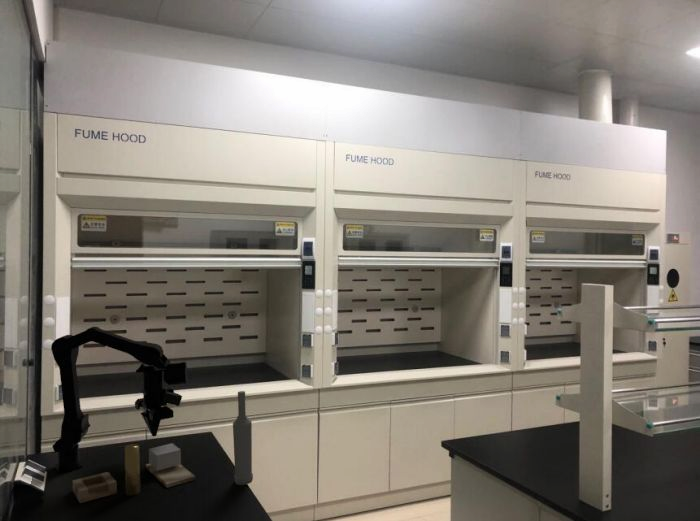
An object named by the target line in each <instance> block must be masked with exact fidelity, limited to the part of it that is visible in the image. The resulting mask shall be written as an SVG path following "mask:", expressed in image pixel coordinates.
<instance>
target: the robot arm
mask: <svg viewBox="0 0 700 521" xmlns="http://www.w3.org/2000/svg"><path fill="white" fill-rule="evenodd" d="M90 342H94V343H96V344H99V345H102V346H105V347H108V348H110V349H112V350H116V351H119V352H122V353H124V354H127V355H130V356H131V357H132V358H134V359H135V360H136V361H138V362H140V363H141V364H140V366H139V367H138V368H137V369H136V370H135V373H137V374H140V373H142V387H143V388H141V389H140V392H141V394H142V396H143V397H141V398H137V399H136V400H135V402H134V409H135V410H137V411H138V410H140V409H141V408H142V409H143V412H140V415H141V416H142V419H143V420H144V422H145V424H146V427H147V428H148V430H149V431H148V432H150V434H151V436H152V437H157V434H158V431H159V428H160V423H161V421H162V420H167V419H173V418H174V410H173V409H172V408H171V407H168V405H174V406H176V407H179V406H180V404H181V401H182V399H183V396H182V395H181V394H179V393H176V392H175V390H174V389H173V388H170V387H167V388H164V387H163V386H164V385H163V384H164V383H165V384H167V385H168V386H173V385H176V386H177V385H187V384H188V382H189V370H188V366H187V362H186V361H181V362H171V361H170V360H169V359H168V357H167V356H166V355H165V354H164V349H163V347H162V346H161V345H160V344H158V343H153V342H148V341H147V342H146V341H137V340H133V339H130V338H127V337H125V336H122V335H119V334H116V333H114V332H110V331H108V330H105V329H102V328H100V327H99V326H92V327H91V326H90V327H89V328H87V329H85V330H84V331H81V332H79V333H76V334H74V335H72V334H66V335H63V336H61V337H58V338H56V339H54V341H53V342H52V343H51V346H50V351H51V353H52V357H53V360H54V362H56V364H57V367H58V368H59V377H60V386H61V394H62V395H61V396H62V406H63V418H62V423H61V428H60V437H59V438H58V439H57V441H56V442H54V443H53V445H52V446H51V447H52V448H53V451H54V453H57V464H55V465H54V468H55V469H56V471H57V472H58V473H62V472H63V473H64V472H68V471H72V470H76V469H80V468H83V464H82V463H81V461H80V448H79V447H80V446H79V443H80V442H82V439H83V438H84V437H85V436H86V434H87V433H88V432H89V428H90V427H91V424H90V422H89V420H90V418H89V417H90V414H89V413H86V414H85V413H83V411H82V408H81V400H80V392H79V381H78V372H77V371H78V370H77V361H78V357H79V352H80V350H79V349H80V347H81V346H83V345H86V344H88V343H90Z"/></svg>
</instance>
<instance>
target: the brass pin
mask: <svg viewBox="0 0 700 521" xmlns="http://www.w3.org/2000/svg"><path fill="white" fill-rule="evenodd" d="M140 459H141V458H140V444H138V443H130V444H127V445H125V446H124V472H125V495H126V496H130V497H131V496H136V495H138V494H140V493H141V471H140V470H141V467H140V466H141V465H140Z"/></svg>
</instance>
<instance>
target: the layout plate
mask: <svg viewBox="0 0 700 521" xmlns="http://www.w3.org/2000/svg"><path fill="white" fill-rule="evenodd" d="M145 468H146V469H147V471H149V472H150V473H151V474H152V476H153V477H155V478H156V479H157V480H158V481H159V482H160V483H161V484H162V485H163V486H164V487H165V488H166V489H167V488H172V487H175V486H178V485H181V484H185V483H189V482H192V481H195V480H196V476H195V475H194V474H193V473H192V472H191V471H189V470H188V469H187V468H185V466H183V465H182V464H181V465H177V466H173V467H169V468H166V469H162V470H158V471H157V470H156V469H155V468H154V467H153V466H151V465H150V464H149V463H146V464H145Z"/></svg>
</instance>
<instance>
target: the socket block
mask: <svg viewBox="0 0 700 521" xmlns="http://www.w3.org/2000/svg"><path fill="white" fill-rule="evenodd" d="M117 486H118V485H117V481H116V479H115V478H114V477H113V475H111V473H110V472H109V471H105V472H100V473H98V474H93V475H89V476H86V477H85V476H84V477H81V478H77V479H72V492H73V494H74V496H75V498H76V499H77V500H78V503H79V504H83V503H87V502H90V501H93V500H98V499H100V498H103V497H107V496H108V497H109V496H111V495H115V494H117V493H118V490H117V489H118V488H117Z"/></svg>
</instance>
